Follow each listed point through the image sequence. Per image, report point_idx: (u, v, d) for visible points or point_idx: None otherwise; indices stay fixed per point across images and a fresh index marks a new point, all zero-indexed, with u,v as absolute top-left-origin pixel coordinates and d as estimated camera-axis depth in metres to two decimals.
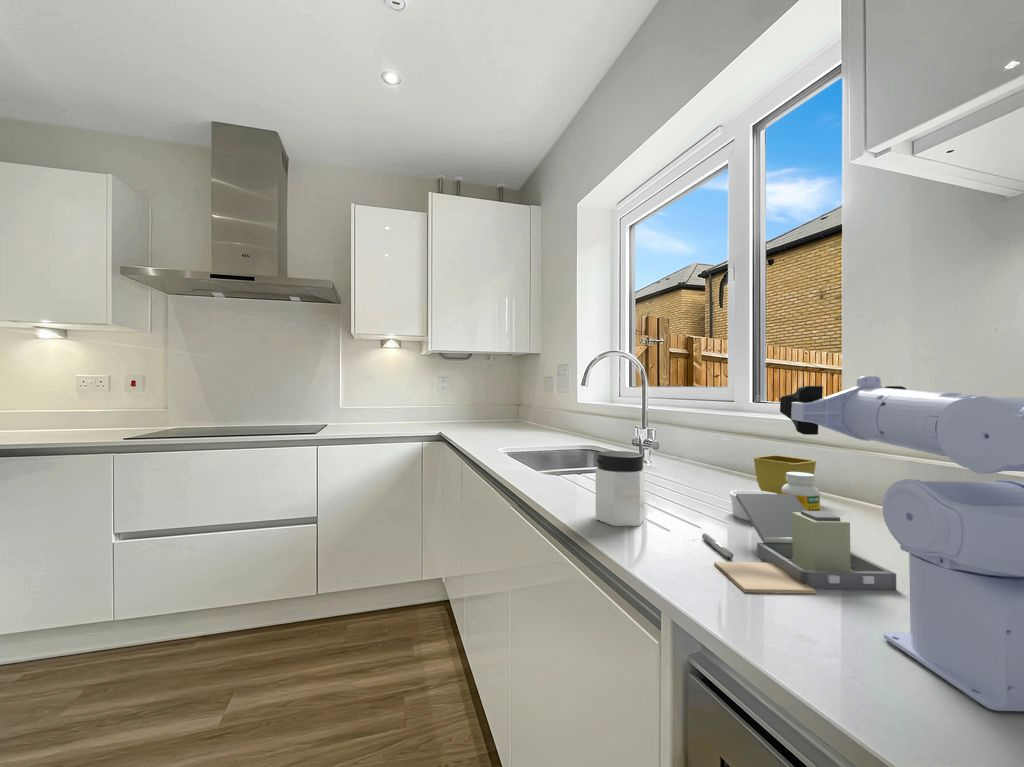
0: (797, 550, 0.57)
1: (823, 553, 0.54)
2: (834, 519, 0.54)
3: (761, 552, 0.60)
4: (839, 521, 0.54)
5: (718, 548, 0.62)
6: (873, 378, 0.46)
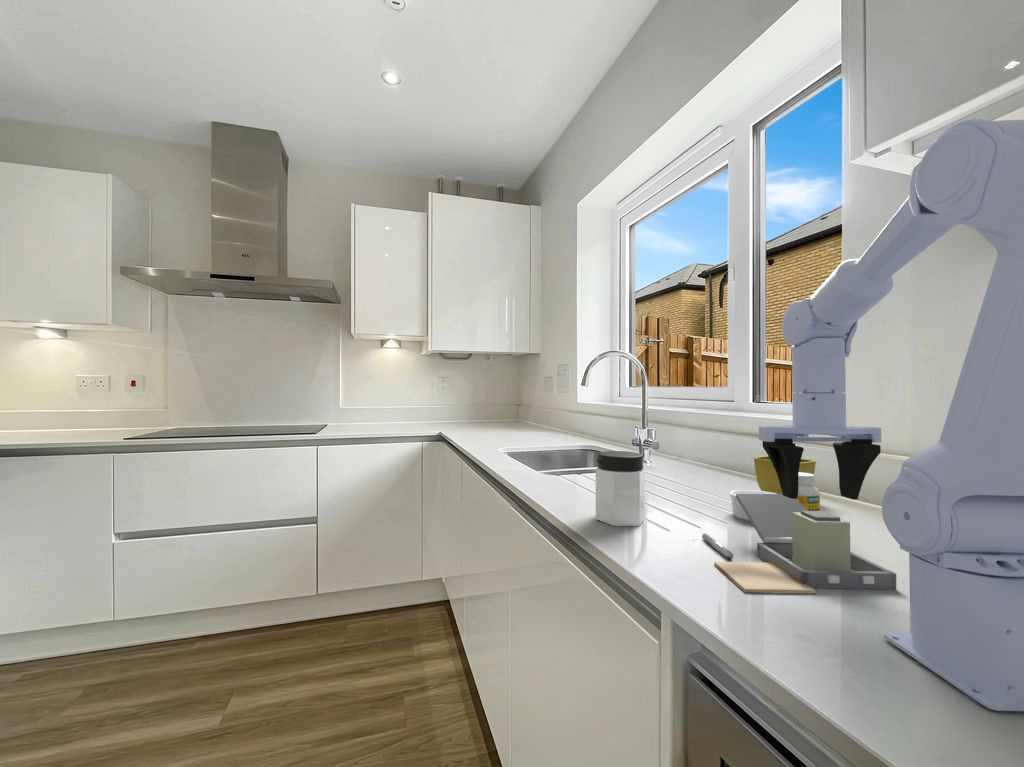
0: (797, 550, 0.57)
1: (823, 553, 0.54)
2: (834, 519, 0.54)
3: (761, 552, 0.60)
4: (839, 521, 0.54)
5: (718, 548, 0.62)
6: None
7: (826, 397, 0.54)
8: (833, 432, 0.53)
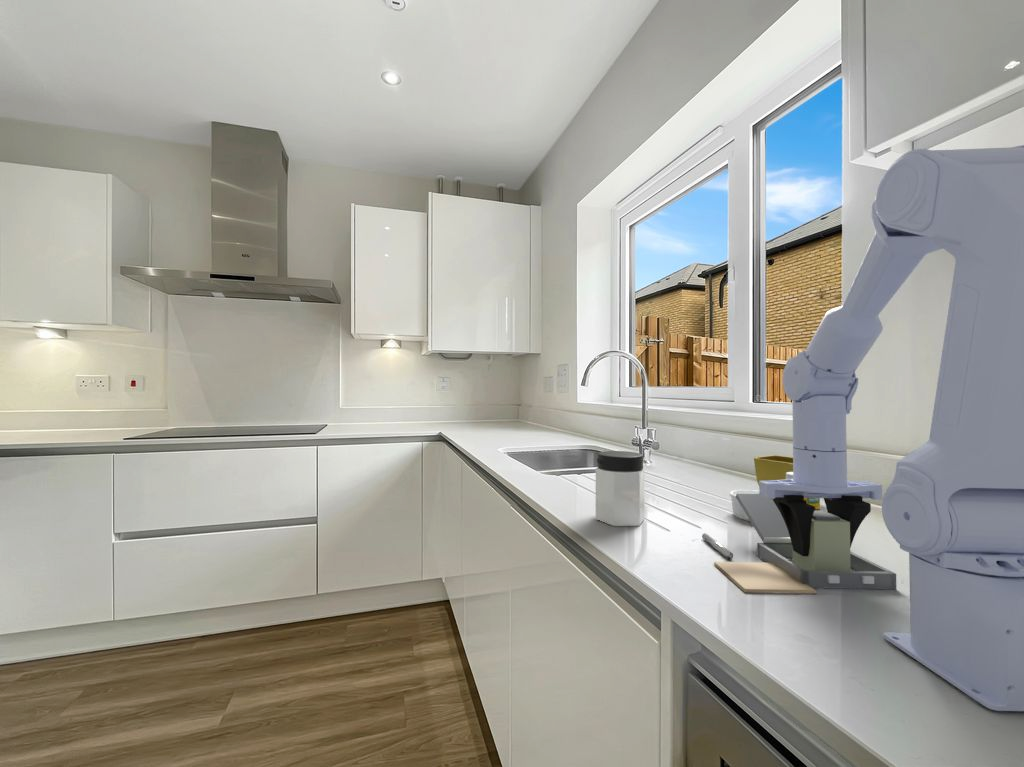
0: None
1: (823, 553, 0.54)
2: (834, 519, 0.54)
3: (761, 552, 0.60)
4: (839, 521, 0.54)
5: (718, 548, 0.62)
6: None
7: (827, 455, 0.53)
8: (834, 491, 0.53)
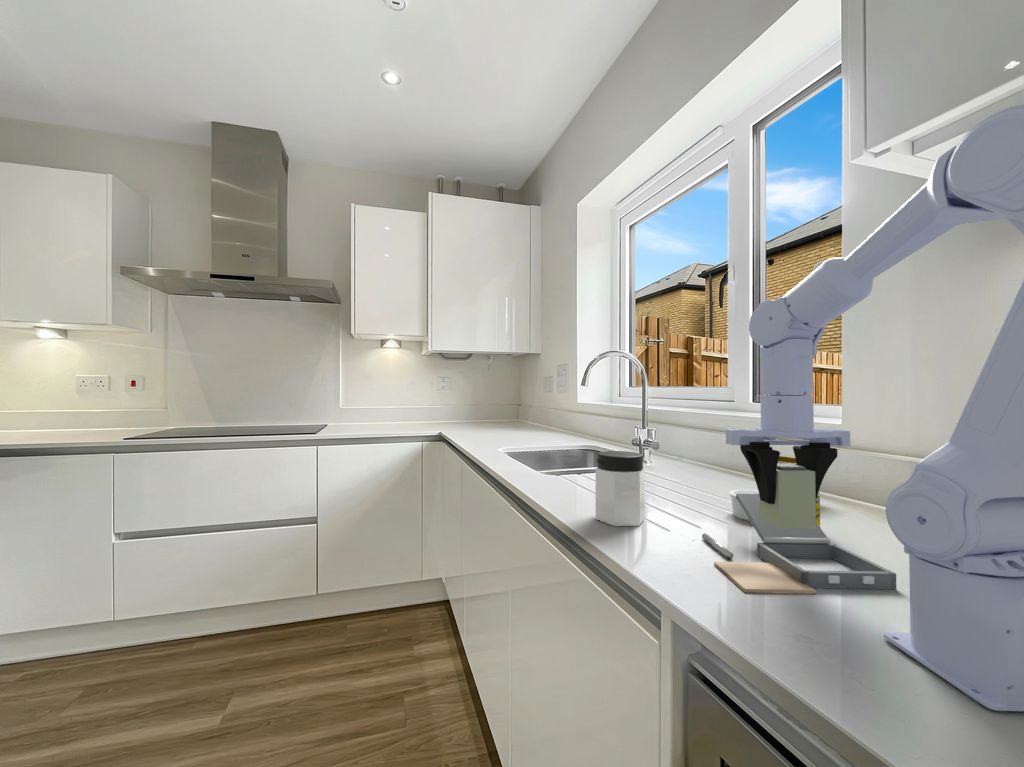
0: (764, 503, 0.56)
1: (788, 503, 0.53)
2: (799, 469, 0.53)
3: (761, 552, 0.60)
4: (804, 470, 0.53)
5: (718, 548, 0.62)
6: None
7: (792, 400, 0.52)
8: (799, 435, 0.52)
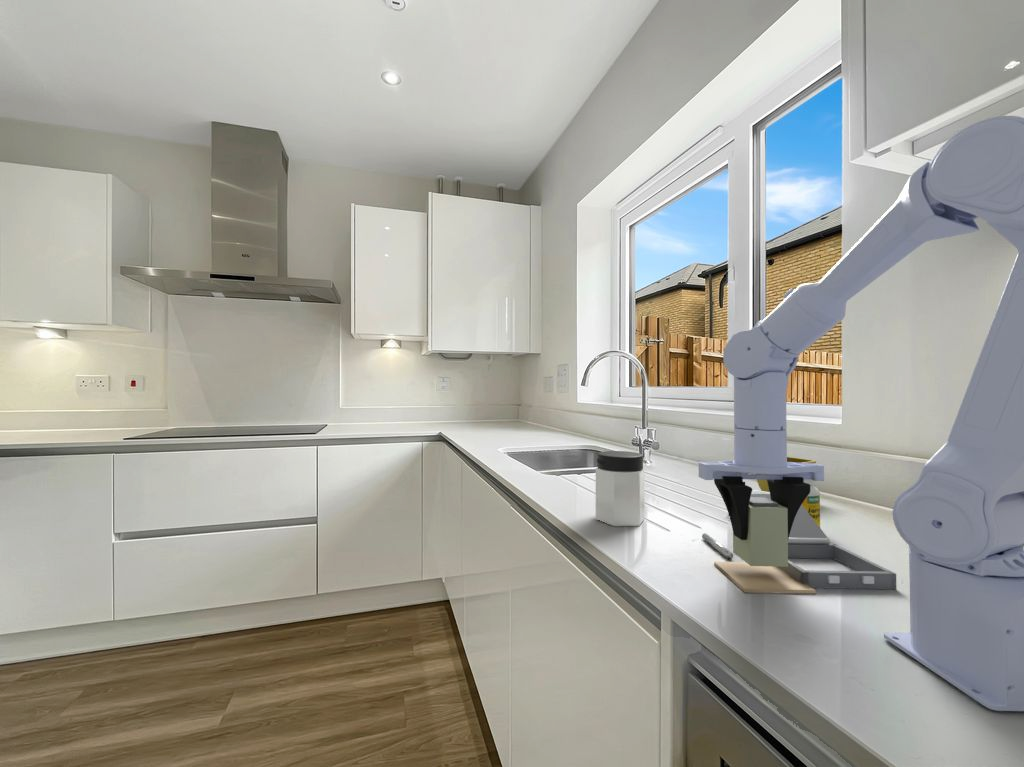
0: (737, 538, 0.55)
1: (760, 540, 0.52)
2: (772, 505, 0.52)
3: None
4: (777, 507, 0.52)
5: (718, 548, 0.62)
6: None
7: (765, 434, 0.51)
8: (771, 471, 0.51)
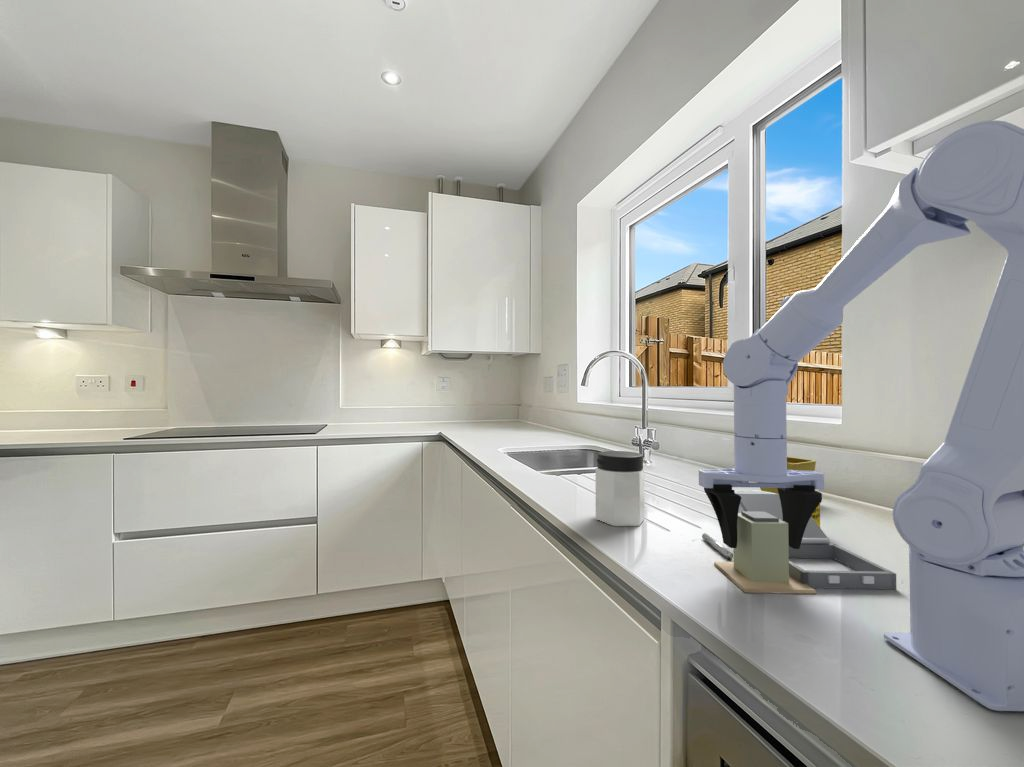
0: (737, 552, 0.55)
1: (761, 555, 0.52)
2: (773, 520, 0.52)
3: None
4: (777, 522, 0.52)
5: (718, 548, 0.62)
6: None
7: (765, 443, 0.51)
8: (772, 480, 0.51)
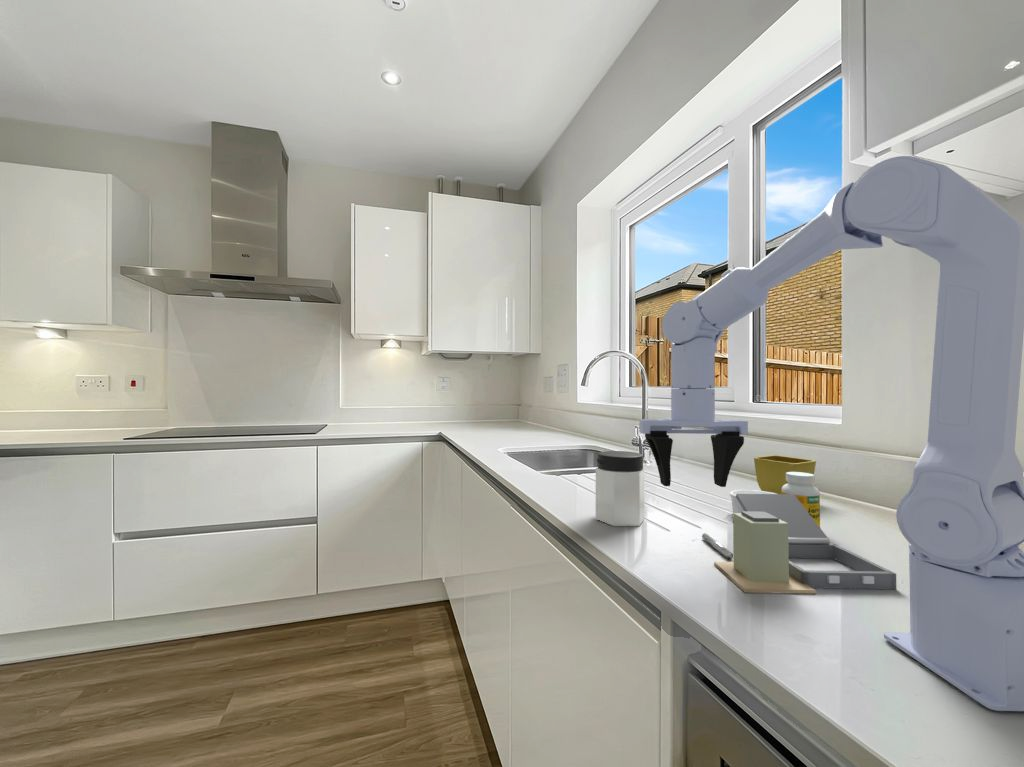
0: (737, 552, 0.55)
1: (761, 555, 0.52)
2: (773, 520, 0.52)
3: None
4: (777, 522, 0.52)
5: (718, 548, 0.62)
6: None
7: (694, 392, 0.58)
8: (699, 424, 0.58)
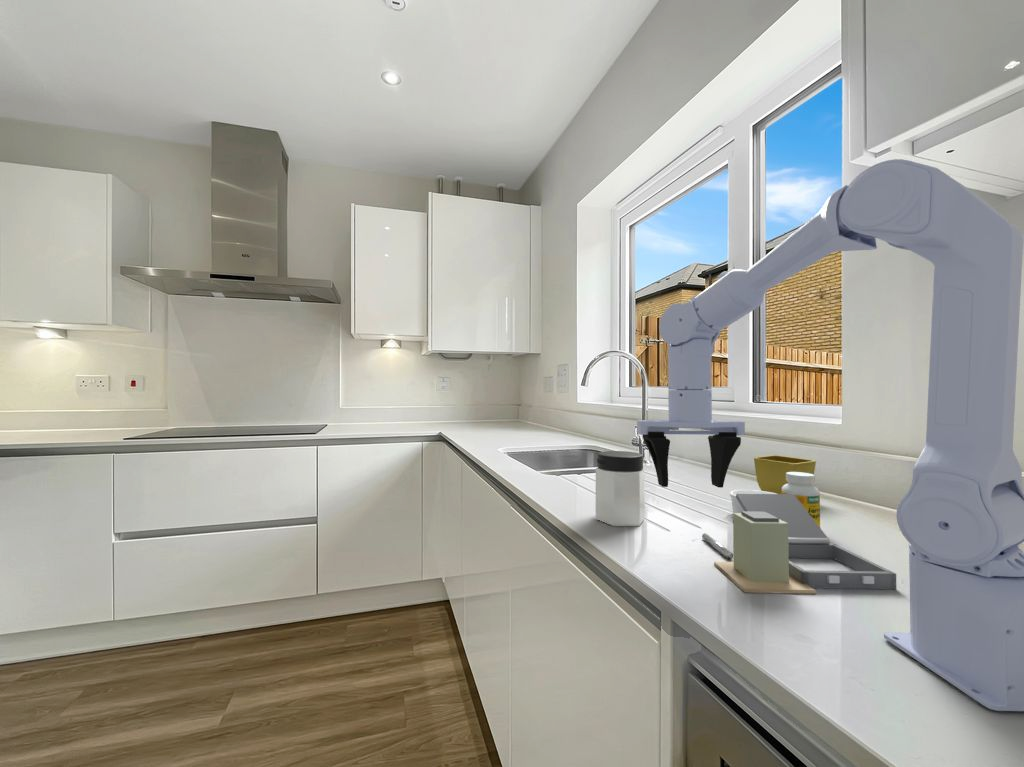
0: (737, 552, 0.55)
1: (761, 555, 0.52)
2: (773, 520, 0.52)
3: None
4: (777, 522, 0.52)
5: (718, 548, 0.62)
6: None
7: (691, 393, 0.58)
8: (696, 425, 0.58)
